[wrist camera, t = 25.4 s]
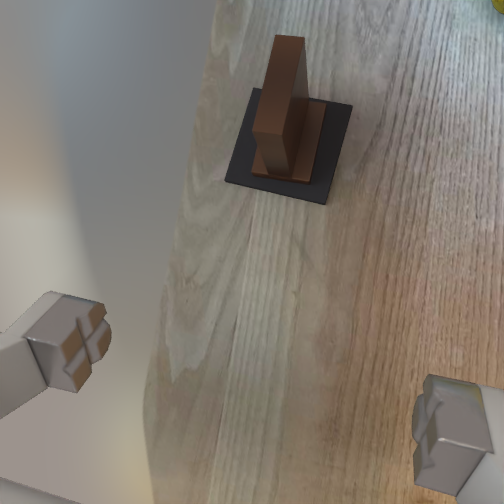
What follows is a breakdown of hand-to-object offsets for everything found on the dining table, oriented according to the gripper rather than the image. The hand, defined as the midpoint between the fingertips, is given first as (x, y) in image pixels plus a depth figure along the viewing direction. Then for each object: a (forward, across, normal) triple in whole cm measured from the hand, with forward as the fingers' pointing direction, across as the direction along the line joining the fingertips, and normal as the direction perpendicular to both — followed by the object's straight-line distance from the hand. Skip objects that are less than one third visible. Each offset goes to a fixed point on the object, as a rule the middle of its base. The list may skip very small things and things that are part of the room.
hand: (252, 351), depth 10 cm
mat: (+28, +4, +6) cm, 29 cm away
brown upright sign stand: (+28, +4, +5) cm, 28 cm away
